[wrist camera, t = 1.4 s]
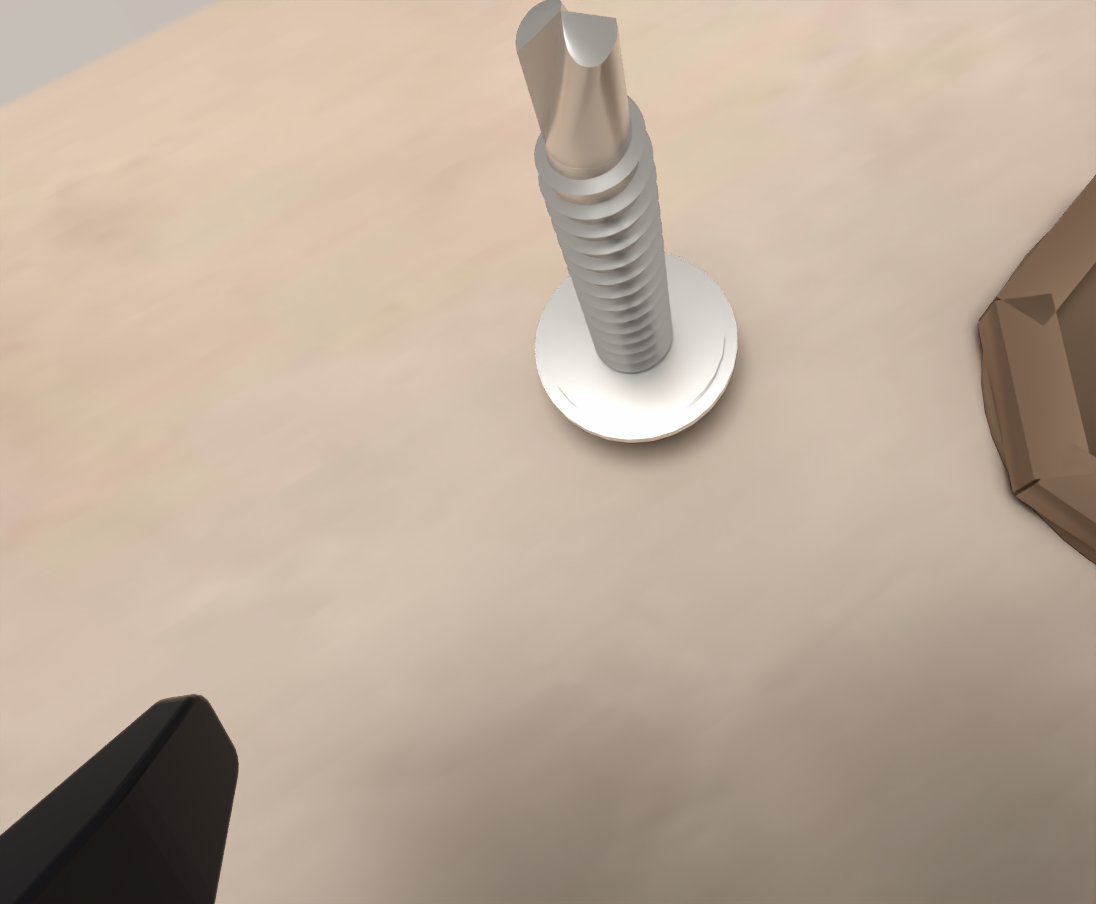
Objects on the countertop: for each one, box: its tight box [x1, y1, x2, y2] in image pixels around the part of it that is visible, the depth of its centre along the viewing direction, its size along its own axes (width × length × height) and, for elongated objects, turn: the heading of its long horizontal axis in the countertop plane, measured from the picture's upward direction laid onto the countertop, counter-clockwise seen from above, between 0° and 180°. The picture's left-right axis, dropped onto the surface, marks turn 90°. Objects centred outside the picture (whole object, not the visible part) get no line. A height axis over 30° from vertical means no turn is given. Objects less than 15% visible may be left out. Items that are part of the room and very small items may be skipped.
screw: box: [516, 0, 738, 443], centre depth 17 cm, size 13×5×5 cm
